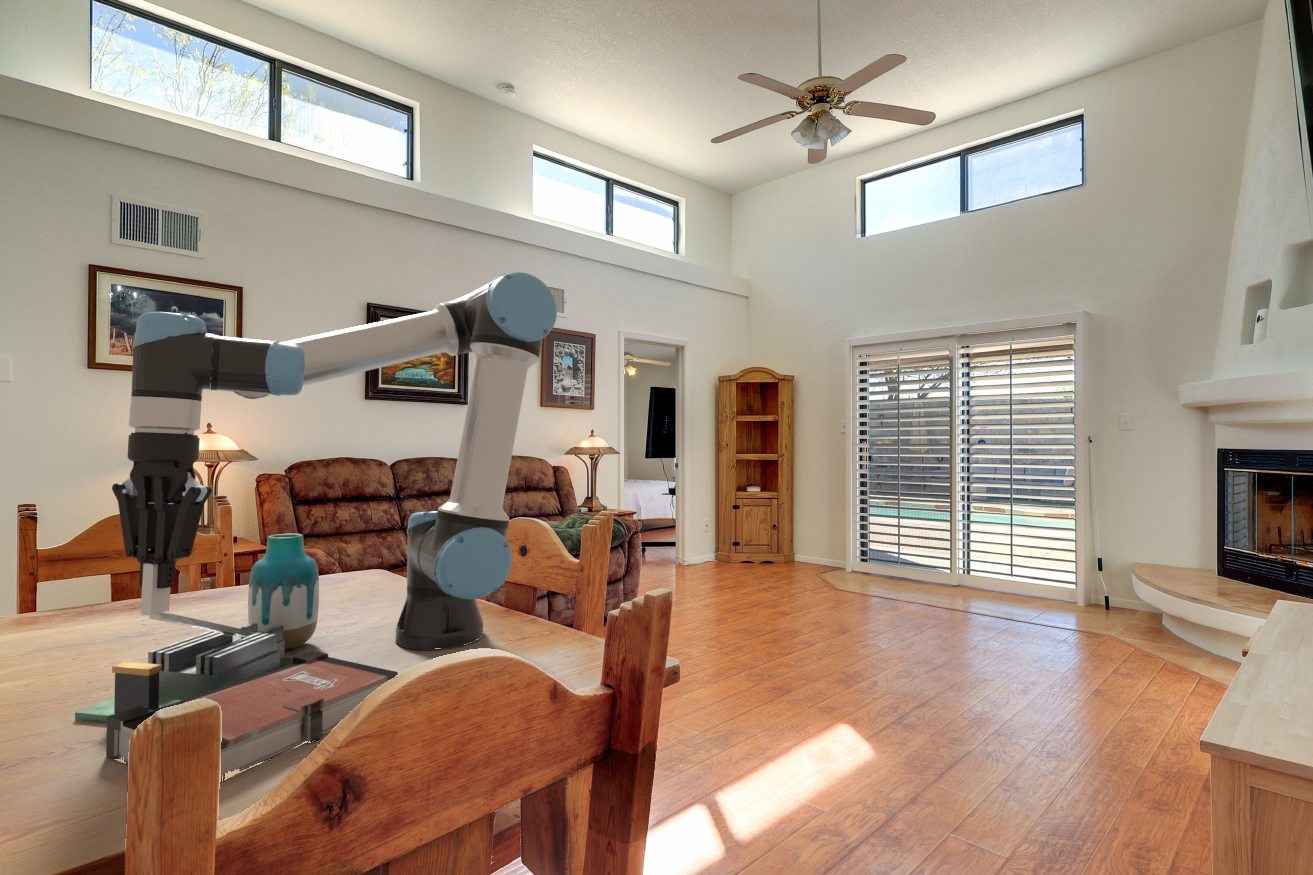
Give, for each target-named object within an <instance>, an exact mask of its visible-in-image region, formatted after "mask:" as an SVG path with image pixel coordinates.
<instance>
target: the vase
mask: <svg viewBox="0 0 1313 875" xmlns="http://www.w3.org/2000/svg"><path fill="white" fill-rule="evenodd" d="M266 540H267V541H266V548H265V549H266V551H265V554H264V556H262V558H261V559H259V560H256V562H255V563H254V564H253V566H252V567H251V570H250V574H249V580H248V581H249V582H248V593H247V594H248V597H247V617H248V618H247V620H248V624H251V623H258V633H263V634H264V633H267V629H268V628H271V627H274V626H276V625H284V626H283V640H285V649H284V650H288V649H292V648H296V647H298V646H302V645H303V644H305V643H306V642H308V641H309V640H310V639H311V638H312V637H313V635H314V633H315V631H316V628H317V626H318V625H317V624H318V620H319V619H318V618H319V617H318V616H319V607H320V576H319V568H318V567H319V566H318V563H317V562H316V560H315V559H314V558H313V557H312V556H308V554H306V551H305V546H304V535H303V534H302V533H280V534H279V533H278V534H271V535H269V536H267V539H266Z"/></svg>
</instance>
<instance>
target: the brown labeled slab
mask: <svg viewBox="0 0 1313 875" xmlns="http://www.w3.org/2000/svg"><path fill="white" fill-rule="evenodd" d="M292 658H293V664H291V665H288V666H285V667H282V668H279V669H276V670H273V671H270V672H267V673H264V674H261V675H258V676H255V677H252V678H249V679H246V680H243V681H240V682H237V683H234V684H231V685H228V686H225V687H222V688H219V689H215V690H212V691H209V692H206V693H203V694H200V695H197V696H194V697H191V698H188V699H185V700H182V701H179V702H176V703H173V704H170V705H167V706H164V707H161V708H158V709H155V710H151V709H148V708H145V707H141V706H138V707H135V708H132V709H128V710H125V711H122V712H119V713H116V714H113V715H110V716H107V724H106V747H105V748H106V749H105V753H106V754H105V758H106V759H110V760H112V759H121V757H122V760H123V757H124V762H126V766H128V752H129V740H130V737H131V735H132V734H133V733H134V731H135V729H136V728H137V726H138V725H139V724H141V723H142V722H143V721H144V720H146V719H147V718H149V717H150V716H152V715H153V714H154V713H155V712H156V711H158V710H160V709H163V708H166V707H170V706H174V705H179V704H183V703H185V702H189V701H192V700H196V699H202V698H207V699H211V700H213V701H215V702H217V703H218V704H219V705H220V706H221V711H222V742H221V782H220V783H223V782H225V781H224V779H225V773H228V771H231V772H232V771H234V770H235V769H236V770H237V769H240V770H239V771H242V770H244V769H247V768H249V767H250V766H253V765H255V764H257V763H260V762H263V761H266V760H269V759H271V760H273V759H275V758H277V757H280V756H282V755H284V754H286V753H288V752H287V751H289V750H291V749H293V748H294V747H296V746H298V745H300V744H302V743H303V742H305V741H308V742H309V741H310V742H312V741H314V740H315V742H317V741H319V740H320V738H322V737H324V736H326V735H327V734H330V733H331V732H330V731H331V730H332V729H333V728H334V727H335V726H336V725H337V724H338V723H339V722H340V721H341V720H342V719H344V718H345V717H346V716H347V715H348V714H349V713H350V711H352V710H353V709H354V708H355V707H356V706H357V705H358V704H360V702H362V701H363V700H364V699H365V698H366V697H367V696H368V695H369V694H371V693H372V692H373V691H375V690H376V689H377V688H378V687H380V686H381V685H382V684H384V683H385V682H387V681H388V680H390V679H392V678H394V677H395V676H396V675H399V672H398V671H395V670H391V669H386V668H382V667H376V666H372V665H368V664H367V665H366V664H363V663H357V662H354V661H348V660H345V659H339V658H333V657H330V656H329V653H326V652H322V651H317V650H310V651H307V652H305V653H301V654H297V655H294V656H293V657H292ZM394 679H395V678H394ZM329 732H330V733H329ZM293 750H294V749H293ZM291 751H292V750H291ZM285 752H286V753H285ZM289 752H290V751H289ZM279 755H280V756H279ZM269 761H270V760H269ZM222 775H223V782H222ZM220 783H219V784H220Z"/></svg>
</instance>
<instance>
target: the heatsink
mask: <svg viewBox="0 0 1313 875" xmlns="http://www.w3.org/2000/svg"><path fill="white" fill-rule="evenodd" d="M283 626H284V625H276V626H274V627H271V628H268V629H267V633H264V634H262V633H255V634H253V635H250V636H247V637H245V638H243V637H240V639H237V640H234V635H229V634H224V633H219V632H214V631H209V630H207V631H206V632H201V633H200V634H196V635H194V636H190V637H187V638H185V639H182V640H179V641H176V642H173V643H170V644H167V645H165V646H162V647H158V648H155V649H152V650H150V651H147V659H148V660H147V663H146V662H145V663H144V662H137V661H136V662H135V661H123V662H120V663H118V664H115V665H113V666H112V667H111V670H112V671H111V673H112V674H114V696H113V697H112V698H108V699H106V700H103V701H101V702H99V703H96V704H94V705H90V706H88V707H86V708H84V709H80V710H78V711H75V712H74V721H79V722H88V723H96V724H97V723H99V724H104V725H105V724H106V725H107V716H110V715H113V714H116V713H119V712H122V711H125V710H128V709H132V708H135V707H138V706H141V707H145V708H148V709H151V710H155V709H158V708H161V707H164V706H167V705H170V704H173V703H176V702H179V701H182V700H185V699H188V698H191V697H194V696H197V695H200V694H203V693H206V692H209V691H212V690H215V689H219V688H222V687H225V686H228V685H231V684H234V683H237V682H240V681H243V680H246V679H249V678H252V677H255V676H258V675H261V674H264V673H267V672H270V671H273V670H276V669H279V668H282V667H285V666H288V665H291V664H293V657H285V650H286V649H285V640H283ZM240 629H244V630H249V631H253V632H258V623H251V624H249V623H248V624H246V625H244V626H243V625H242V626H241V627H240ZM233 640H234V641H233Z"/></svg>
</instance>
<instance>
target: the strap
mask: <svg viewBox="0 0 1313 875" xmlns="http://www.w3.org/2000/svg"><path fill="white" fill-rule="evenodd" d="M148 619H149V620H155V621H161V622H165V623H169V624H175V625H179V626H180V625H181V626H185V627H190V628H195V629H199V630H205V631H214V632H219V633H224V634H229V635H233V637H240V638H241V637H243V638H245V637H247V636H250V635H253V634H255V633H258V632H253V631H249V630H244V629H241V627H240V628H239V627H233V626H229V625H224V624H221V623H215V622H210V621H207V620H202V619H199V618H198V619H197V618H194V617H193V618H192V617H189V616H183V615H179V614H174V613H169V612H167V613H166V612H163V613H159V614H155V615H151V616H149V615H148ZM262 634H263V633H262Z"/></svg>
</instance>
